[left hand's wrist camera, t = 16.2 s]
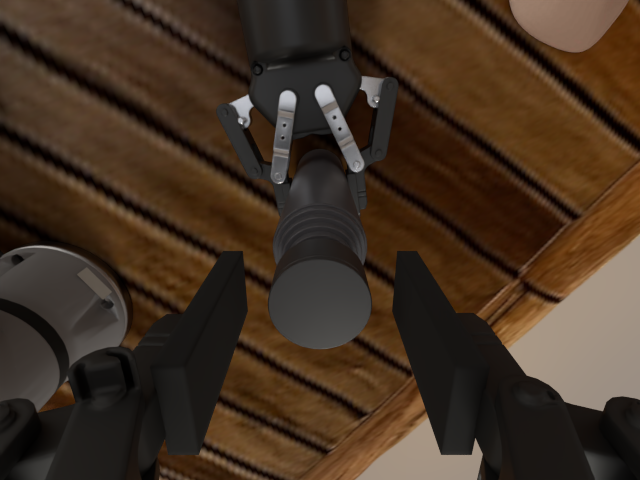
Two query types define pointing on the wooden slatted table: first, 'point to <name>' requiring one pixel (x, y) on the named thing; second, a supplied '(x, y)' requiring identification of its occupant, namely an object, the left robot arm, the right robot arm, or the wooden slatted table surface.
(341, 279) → the cap
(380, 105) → the right robot arm
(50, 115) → the wooden slatted table surface
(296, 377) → the wooden slatted table surface
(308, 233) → the bottle
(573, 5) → the anatomical model
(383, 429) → the wooden slatted table surface
